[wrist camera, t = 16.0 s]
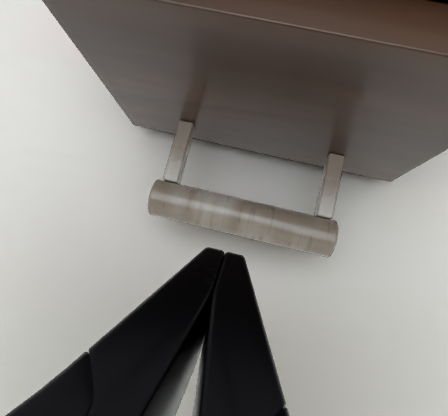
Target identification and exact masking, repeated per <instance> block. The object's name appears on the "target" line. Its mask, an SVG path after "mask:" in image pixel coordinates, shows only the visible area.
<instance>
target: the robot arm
mask: <svg viewBox="0 0 448 416" xmlns="http://www.w3.org/2000/svg"><path fill="white" fill-rule="evenodd" d="M202 345H203V347H202ZM201 348H202V353H201V359H200V366H199V373H198V380H197V387H196V395H195V402H194V409H193V416H289V412H288V409H287V408H285V405H286V402H285V399H284V395H283V392H282V388H281V385H280V381H279V378H278V374H277V371H276V367H275V363H274V360H273V356H272V353H271V349H270V346H269V342H268V339H267V335H266V332H265V328H264V325H263V321H262V318H261V314H260V310H259V307H258V303H257V300H256V296H255V293H254V289H253V286H252V282H251V279H250V275H249V272H248V268H247V264H246V261H245V258H244V257H243V256H242V255H238V254H234V253H230V252H227V253H226V254H225V253H224V252H223V251H222V250H218V249H214V248H210V247H208V248H205V249H204V250H203V251H202V252H201V253H199V254H198V255H197V256H196V257H195V258H194V259H192V260H191V261H190V262H189V263H188V264H187V265H185V266H184V267H183V268H182V269H181V270H180V271H179V272H177V273H176V274H175V275H174V276H173V277H172V278H170V279H169V280H168V281H167V282H166V283H165V284H163V285H162V286H161V287H160V288H159V289H158V290H157V291H155V292H154V293H153V294H152V295H151V296H150V297H148V298H147V299H146V300H145V301H144V302H143V303H141V304H140V305H139V306H138V307H137V308H136V309H135V310H133V311H132V312H131V313H130V314H129V315H128V316H126V317H125V318H124V319H123V320H122V321H121V322H119V323H118V324H117V325H116V326H115V327H114V328H113V329H111V330H110V331H109V332H108V333H107V334H106V335H104V336H103V337H102V338H101V339H100V340H99V341H98V342H96V343H95V344H94V345H93V346H92V347H91V348H89V353H88V352H85V353H83V354H82V355H81V356H80V357H79V358H78V359H76V360H75V361H74V362H73V363H72V364H71V365H69V366H68V367H67V368H66V369H65V370H64V371H62V372H61V373H60V374H59V375H57V376H56V377H55V378H54V379H53V380H51V381H50V382H49V383H48V384H46V385H45V386H44V387H43V388H42V389H40V390H39V391H38V392H37V393H35V394H34V395H32V396H31V397H30V398H28V399H27V400H26V401H24V402H23V403H22V404H20V405H19V406H18V407H16V408H15V409H14V410H12V411H11V412H10V413H8V414H7V415H6V416H175V415H176V412H177V410H178V407H179V405H180V402H181V400H182V397H183V395H184V392H185V390H186V387H187V385H188V382H189V380H190V377H191V375H192V372H193V370H194V367H195V365H196V362H197V360H198V357H199V354H200V351H201Z"/></svg>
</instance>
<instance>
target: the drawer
mask: <svg viewBox="0 0 448 416" xmlns="http://www.w3.org/2000/svg"><path fill="white" fill-rule="evenodd" d="M42 1H43V2H44V3H45V5H46V6H47V8H48V9H49V10H50V12H51V13H52V14H53V16H54V17H55V18H56V20H57V21H58V23H59V24H60V25H61V27H62V28H63V29H64V31H65V32H66V33H67V35H68V36H69V38H70V39H71V40H72V42H73V43H74V44H75V46H76V47H77V48H78V50H79V51H80V52H81V54H82V55H83V57H84V58H85V59H86V61H87V62H88V63H89V65H90V66H91V67H92V69H93V70H94V72H95V73H96V74H97V76H98V77H99V78H100V80H101V81H102V82H103V84H104V85H105V87H106V88H107V89H108V91H109V92H110V93H111V95H112V96H113V97H114V99H115V100H116V102H117V103H118V104H119V106H120V107H121V108H122V110H123V111H124V112H125V114H126V115H127V116H128V118H129V119H130V121H131V122H132V123H133V125H136V126H141V127H145V128H150V129H154V130H159V131H164V132H168V133H173V134H175V137H174V141H173V144H172V148H171V151H170V155H169V159H168V162H167V166H166V169H165V173H164V176H163V179H164V181H163V180H156V182H155V183H154V185H153V187H152V189H151V192H150V196H149V201H148V212H149V213H150V214H151V215H155V216H159V217H163V218H168V219H172V220H176V221H180V222H184V223H188V224H192V225H196V226H201V227H205V228H209V229H213V230H217V231H221V232H225V233H229V234H234V235H238V236H242V237H246V238H250V239H254V240H258V241H262V242H267V243H271V244H275V245H279V246H283V247H287V248H291V249H295V250H300V251H304V252H308V253H312V254H316V255H320V256H324V257H330V256H331V254H332V252H333V250H334V248H335V245H336V241H337V236H338V223H337V221H334V220H330V219H332V218H333V214H334V209H335V204H336V199H337V194H338V189H339V184H340V179H341V174H342V171H344V172H348V173H353V174H357V175H362V176H366V177H371V178H375V179H380V180H384V181H389V182H391V181H393V180H394V179H396V178H398V177H400V176H401V175H403V174H405V173H407V172H408V171H410V170H412V169H414V168H415V167H417V166H419V165H421V164H422V163H424V162H426V161H428V160H429V159H431V158H433V157H435V156H436V155H438V154H440V153H442V152H443V151H445V150H447V149H448V0H42ZM192 138H195V139H200V140H204V141H209V142H213V143H218V144H222V145H227V146H231V147H236V148H240V149H245V150H249V151H254V152H258V153H263V154H267V155H272V156H276V157H281V158H285V159H290V160H294V161H299V162H303V163H308V164H312V165H317V166H321V167H324V171H323V176H322V180H321V185H320V190H319V195H318V200H317V204H316V209H315V214H314V216H313V215H309V214H304V213H300V212H296V211H292V210H287V209H283V208H279V207H274V206H270V205H266V204H262V203H257V202H253V201H249V200H244V199H240V198H236V197H232V196H227V195H223V194H219V193H215V192H210V191H206V190H202V189H197V188H193V187H189V186H185V185H180V182H181V178H182V174H183V171H184V167H185V163H186V160H187V156H188V152H189V149H190V145H191V141H192Z"/></svg>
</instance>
